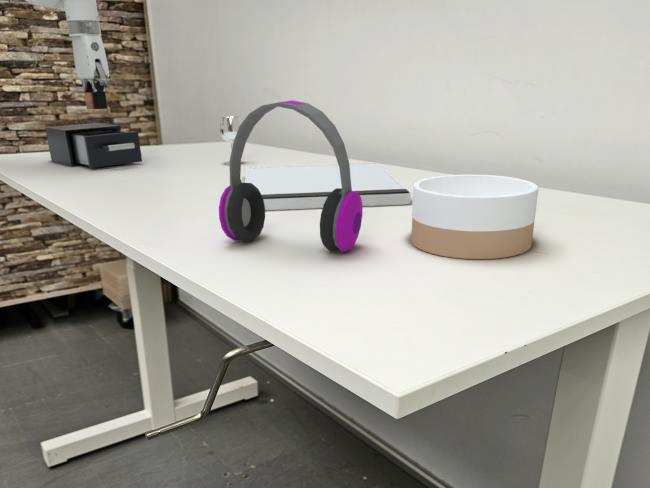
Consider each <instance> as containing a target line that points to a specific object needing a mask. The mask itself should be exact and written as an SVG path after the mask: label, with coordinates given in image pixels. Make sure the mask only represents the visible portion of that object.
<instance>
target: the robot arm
mask: <svg viewBox="0 0 650 488" xmlns="http://www.w3.org/2000/svg"><path fill="white" fill-rule="evenodd" d="M24 1H25V2H27V3H29V4H31V5H33V6H37V7H42V8H47V9H54V10H56V9H62V8H64V13H65V19H66V24H67V30H68V36H69V38H71V42H72V43H71V44H72V52H73V60H74V67H75V72H76V76H77V77H78V79H79V81H80V82H81V85H82V89H83V94H84V93H85V92H92V96H93V102H94V108H95V109H94V110H105V109H106V108H107V106H108V101H107V102H106V99H107V94H106V95H105V93H106V87H105V86H106V82H107V79H108V78H109V77H110V69H109V63H108V59H107V55H106V50H105V45H104V42H103V39H102V31H101V24H100V19H99V13H98V4H97V0H24ZM106 110H107V109H106Z"/></svg>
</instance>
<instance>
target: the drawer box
mask: <svg viewBox="0 0 650 488" xmlns="http://www.w3.org/2000/svg"><path fill="white" fill-rule="evenodd" d="M44 130H45V135H46V140H47V145H48V150H49V155H50V161H51V162H52V163H56V164H59V165H63V166H67V167H71V168H74V167H83V166H86V165H85V164H81V163H77V162H74V161H73V156H72V150H71V145H70V139H69V134H72V133H83V132H93V131H104V130H119V131H122V128H121V125H118V124H111V123H110V124H109V123H104V122H103V123H102V122H92V123H80V124H79V123H78V124H69V125H57V126H55V125H54V126H45V127H44Z"/></svg>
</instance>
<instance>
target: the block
mask: <svg viewBox="0 0 650 488" xmlns="http://www.w3.org/2000/svg"><path fill="white" fill-rule="evenodd" d="M83 94H84V101H85V106H86V109H87V110H96V109H95V108H94V102H93V96H92V92H85V93H84V92H83ZM105 95H106V96H107V93H106V92H105ZM106 102H107V103H108V99H107V98H106ZM108 109H109V106H108V105H107V108H106V110H108Z"/></svg>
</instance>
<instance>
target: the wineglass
mask: <svg viewBox="0 0 650 488" xmlns="http://www.w3.org/2000/svg"><path fill="white" fill-rule="evenodd" d="M241 124H242V122H241V118H240V116H236V115H235V116H222V117H221V118H220V126H219V130H220V131H219V132H220V136H221V138H222V139H223V140H224V141H225V142H228V143H230V149H231V150H232V146H233V142H234V139H235V137H236V134H237V131H238V129H239V126H240V125H241ZM226 165H229V166H230V162H227V163H226ZM241 165H243V164H242V162H241Z"/></svg>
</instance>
